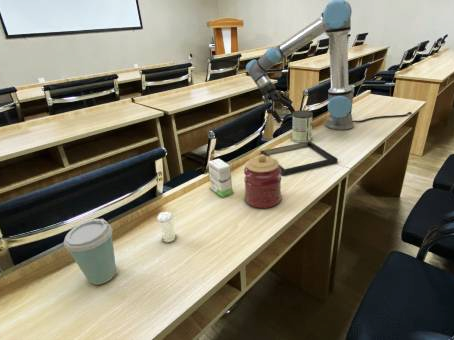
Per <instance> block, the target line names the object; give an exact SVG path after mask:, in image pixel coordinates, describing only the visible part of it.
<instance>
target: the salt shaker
mask: <svg viewBox="0 0 454 340" xmlns="http://www.w3.org/2000/svg"><path fill="white" fill-rule="evenodd" d="M156 221H157V223H158V226H159V229H160V232H161V234H162V237H163V241H164V242H165V243H172V242H174V241H175V239H176V233H175V223H174V222H175V221H174V214H173V213H172V212H170V211H161V212H160V213H158V215H157V217H156Z"/></svg>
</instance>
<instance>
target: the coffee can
mask: <svg viewBox="0 0 454 340" xmlns="http://www.w3.org/2000/svg"><path fill="white" fill-rule="evenodd" d="M291 115H292V130H291V131H292V132H291V135H292V136H291V140H292V141H293V142H294V143H295V142H296V143H303V142H308V141H310V142H312V134H313V116H314V112H313V111H310V110H304V109H299V110H295V112H293V113H292V114H291Z"/></svg>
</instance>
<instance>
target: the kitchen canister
mask: <svg viewBox="0 0 454 340" xmlns="http://www.w3.org/2000/svg"><path fill="white" fill-rule="evenodd" d="M269 156H270V155H269ZM269 156H265V155H263V154H261V155H260V154H259V155H258V156H254V157H252V158H250V159H248V160H247V161H246V163H245V167H244V168H243V174H244V175H245V176H244V179H243V181H244V188H245V189H244V191H245V192H244V198H245V201H246V203H247V204H248V205H250V206H251V207H253V208H258V209H268V208H273V207H274V206H276V205H278V203H280V201H281V198H282V191H281V189H282V187H281V184H282V183H281V182H282V175H281V174H280V173H281V168H280V167H279V165H280V163H279V161H278V160H277V159H276V158H273V157H272V156H270V157H269Z"/></svg>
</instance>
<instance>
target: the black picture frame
mask: <svg viewBox="0 0 454 340" xmlns="http://www.w3.org/2000/svg"><path fill="white" fill-rule="evenodd" d="M308 147H309V148H310V149H312V150H314V151H315V152H316V153H318V154H320V155H321V156H322V157H324V158H325V159H324V160H319V161H314V162H310V163H305V164H302V165H297V166H293V167H289V168H284V167H282V165H280V164H279V167H280V168H281V173H280V176H288V175H291V174H297V173H301V172H305V171H309V170H313V169H318V168H322V167H326V166H330V165H334V164H338V161H339V159H338V158H337V157H335V156H334V155H332V154H331V153H329V152H328V151H326V150H325V149H323V148H321V147H320V146H318V145H317V144H316V143H314V142H312V141H308V142H303V143H302V142H297V143H293V144H288V145H283V146H278V147H273V148H269V149H268V148H267V149H264V150H260V151H259V152H260V154H259V155H261V154H263V155H265V156H269V157H271V155H274V154H278V153H283V152H287V151H293V150H298V149H302V148H308Z"/></svg>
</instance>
